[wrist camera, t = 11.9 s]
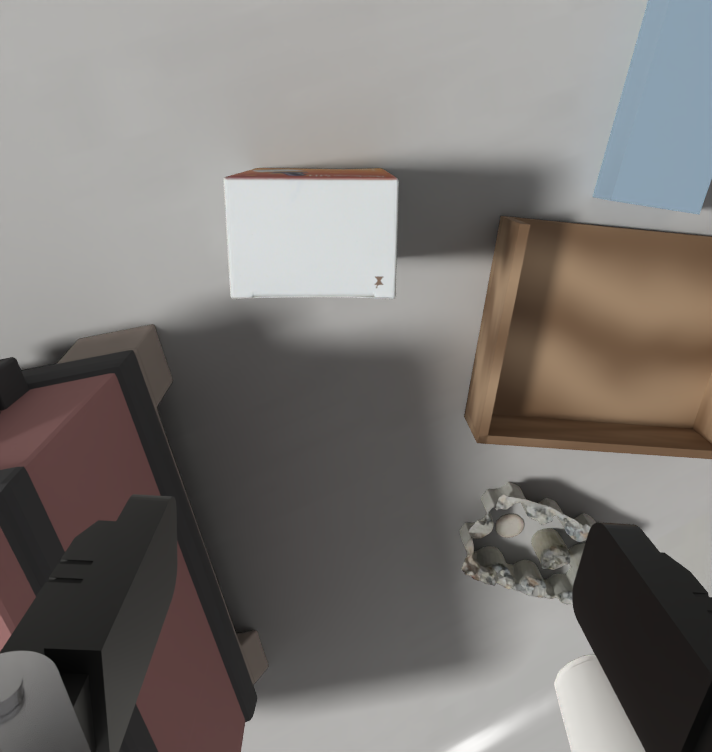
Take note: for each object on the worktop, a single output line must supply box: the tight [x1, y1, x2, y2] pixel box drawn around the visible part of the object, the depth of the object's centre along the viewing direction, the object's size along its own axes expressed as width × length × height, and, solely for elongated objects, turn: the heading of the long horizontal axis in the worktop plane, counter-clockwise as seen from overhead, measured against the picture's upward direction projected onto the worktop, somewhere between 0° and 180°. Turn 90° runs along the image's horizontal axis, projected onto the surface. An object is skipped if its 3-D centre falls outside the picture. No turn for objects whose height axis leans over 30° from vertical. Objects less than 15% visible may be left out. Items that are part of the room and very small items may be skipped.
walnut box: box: [464, 216, 712, 459], centre depth 38 cm, size 14×17×4 cm
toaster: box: [0, 324, 269, 752], centre depth 34 cm, size 19×34×21 cm, turn 11°
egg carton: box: [459, 482, 596, 605], centre depth 44 cm, size 11×8×4 cm
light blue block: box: [593, 0, 712, 214], centre depth 33 cm, size 12×6×3 cm, turn 172°
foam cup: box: [554, 655, 645, 752], centre depth 46 cm, size 10×9×13 cm
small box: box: [223, 168, 399, 299], centre depth 31 cm, size 8×6×10 cm
